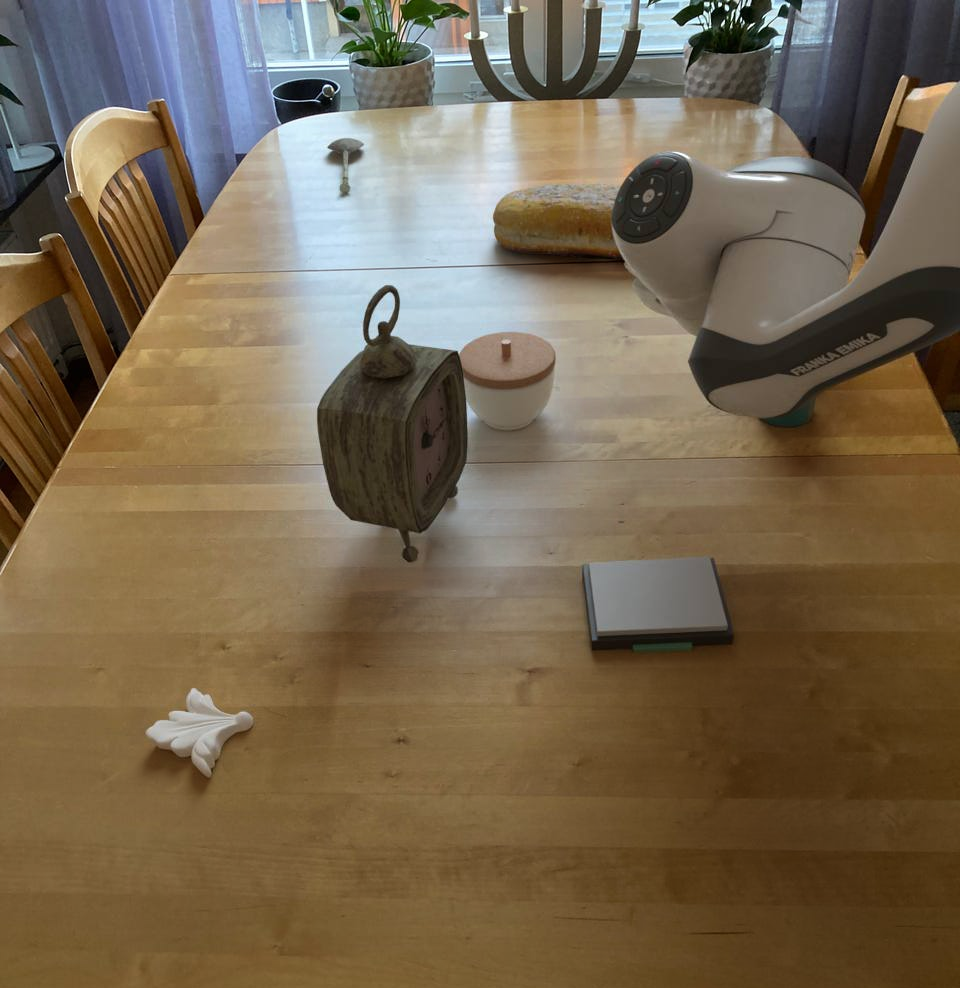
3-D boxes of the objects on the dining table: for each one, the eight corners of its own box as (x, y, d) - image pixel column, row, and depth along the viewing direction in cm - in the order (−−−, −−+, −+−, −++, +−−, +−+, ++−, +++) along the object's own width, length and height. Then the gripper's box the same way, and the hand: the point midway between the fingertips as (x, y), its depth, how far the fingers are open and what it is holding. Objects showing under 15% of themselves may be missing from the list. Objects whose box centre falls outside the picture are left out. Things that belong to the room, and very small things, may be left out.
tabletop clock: (420, 577, 96) (388, 339, 79) (336, 559, 99) (287, 325, 81) (473, 489, 106) (455, 259, 88) (395, 476, 108) (362, 249, 91)
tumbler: (805, 394, 115) (821, 313, 108) (819, 425, 111) (837, 342, 103) (749, 397, 115) (762, 316, 108) (761, 428, 111) (774, 346, 104)
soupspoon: (366, 149, 181) (330, 153, 181) (363, 129, 179) (326, 134, 179) (364, 191, 165) (325, 196, 165) (361, 169, 163) (321, 175, 163)
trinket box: (506, 453, 110) (502, 378, 103) (443, 416, 116) (436, 342, 109) (575, 415, 115) (576, 340, 108) (512, 381, 121) (509, 308, 114)
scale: (710, 582, 94) (714, 552, 91) (730, 663, 86) (736, 633, 84) (581, 588, 94) (582, 558, 91) (591, 669, 87) (592, 640, 84)
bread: (669, 271, 139) (673, 213, 133) (484, 261, 144) (481, 205, 139) (678, 230, 148) (683, 175, 142) (504, 222, 153) (502, 168, 148)
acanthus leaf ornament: (210, 781, 80) (203, 766, 79) (141, 756, 83) (134, 741, 81) (261, 714, 85) (256, 700, 84) (195, 692, 87) (189, 678, 86)
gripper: (602, 285, 93) (656, 339, 105) (801, 351, 83) (835, 402, 95) (633, 221, 92) (683, 282, 104) (838, 279, 82) (868, 340, 94)
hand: (757, 340), depth 99 cm, fingers open, 8 cm apart
